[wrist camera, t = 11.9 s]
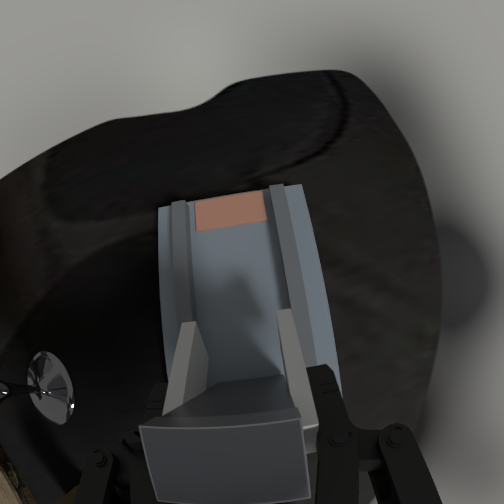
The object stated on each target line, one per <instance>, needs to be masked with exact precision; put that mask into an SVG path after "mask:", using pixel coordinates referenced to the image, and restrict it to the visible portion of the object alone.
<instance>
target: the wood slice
mask: <svg viewBox="0 0 504 504" xmlns="http://www.w3.org/2000/svg"><path fill="white" fill-rule="evenodd" d="M0 504H35V502H34V500H33V498H32V496H31V494H30V492H29V489H28V487H27V486H26V484H25V482H24V481H23V479H22V477H21V476H20V474H19V472H18V470H17V469H16V467H15V466H14V465H13V463H12V462H11V460H10V459H9V457H8V456H7V454H6V453H5V451H4V450H3V449H2V448H1V447H0Z"/></svg>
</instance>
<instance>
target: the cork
mask: <svg viewBox="0 0 504 504" xmlns="http://www.w3.org/2000/svg"><path fill="white" fill-rule="evenodd" d="M78 486H79V485H78ZM78 486H76V487H74V488H73V489H72V490H71V491H70V492H68V493H67V494H66V495H65V496H64V497H62V498H61V499H60V500H59V501H57V502H56V503H55V504H74V501H75V497H76V494H77V490H78Z"/></svg>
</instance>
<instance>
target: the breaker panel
mask: <svg viewBox="0 0 504 504" xmlns="http://www.w3.org/2000/svg"><path fill="white" fill-rule="evenodd" d="M158 256H159V285H160V303H161V317H162V329H163V340H164V350H165V359H166V368H167V376H168V383H169V378H170V374H171V369H172V364H173V360H174V355H175V351H176V346H177V342H178V337H179V333H180V329H181V325H182V323H184V322H193V321H196V323H197V326H198V328H199V331H200V334H201V337H202V340H203V343H204V345H205V348H206V351H207V354H208V356H209V361H208V372H207V383H206V390H207V389H209V388H210V387H212V386H214V385H215V384H217V383H218V382H224V381H235V380H245V379H253V378H261V377H269V376H276V375H282V374H284V377H285V373H284V367H283V361H282V355H281V349H280V341H279V333H278V325H277V317H276V311H277V310H283V309H289V308H291V311H292V315H293V319H294V323H295V327H296V331H297V335H298V339H299V343H300V347H301V351H302V355H303V359H304V363H305V367H312V366H317V365H322V364H327V365H328V366H329V367H330V368H331V369H332V370H333V371H334V374H335V377H336V380H337V383H338V386H339V390H340V392H341V395H342V390H341V382H340V375H339V367H338V360H337V354H336V347H335V341H334V335H333V329H332V323H331V317H330V311H329V306H328V301H327V295H326V290H325V285H324V280H323V275H322V270H321V265H320V260H319V256H318V251H317V247H316V242H315V238H314V233H313V229H312V225H311V220H310V216H309V212H308V208H307V204H306V200H305V196H304V192H303V188H302V184H300V185H292V186H284V184H278V185H271V186H269V189H263V190H256V191H250V192H243V193H237V194H231V195H225V196H219V197H213V198H207V199H202V200H196V201H191V202H186V201H185V200H181V201H176V202H172V205H170V206H165V207H161V208H158ZM285 380H286V379H285ZM342 399H343V398H342Z"/></svg>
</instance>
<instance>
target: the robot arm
mask: <svg viewBox="0 0 504 504" xmlns="http://www.w3.org/2000/svg"><path fill="white" fill-rule="evenodd" d="M276 317H277V325H278V333H279V341H280V349H281V355H282V361H283V367H284V373H285V379H286V383H287V386H288V389H289V392H290V395H291V397H292V400H293V402H294V405H295V407H298V410H299V412H300V415H301V417H302V425H303V433H304V441H305V449H306V454H307V453H312V452H316V450H317V455H318V463H317V481H316V493H315V504H358V495H359V473H358V471H368V474H369V477H370V480H371V483H372V486H373V489H374V492H375V496H376V499H377V502H378V504H442V502H441V499H440V496H439V494H438V491H437V489H436V486H435V484H434V481H433V479H432V477H431V474H430V472H429V469H428V467H427V465H426V462H425V460H424V458H423V456H422V454H421V451H420V449H419V447H418V444H417V442H416V440H415V438H414V436H413V434H412V432H411V430H410V429H409V428H408V427H407V426H405V425H403V424H398V423H396V424H391V425H389V426H387V427H385V428H384V429H383V430H363V429H360V428H357V427H356V426H354V425H353V424H352V423H351V422H350V420H349V418H348V415H347V411H346V408H345V405H344V402H343V399H342V395H341V392H340V390H339V386H338V383H337V380H336V377H335V374H334V371H333V370H332V369H331V368H330V367H329V366H328V365H327V364H322V365H317V366H312V367H305V363H304V359H303V355H302V351H301V347H300V343H299V339H298V335H297V331H296V327H295V323H294V319H293V315H292V311H291V308H289V309H283V310H277V311H276ZM208 361H209V356H208V354H207V351H206V348H205V345H204V343H203V340H202V337H201V334H200V331H199V328H198V326H197V323H196V321H193V322H184V323H182V325H181V329H180V333H179V337H178V342H177V346H176V351H175V355H174V360H173V364H172V369H171V374H170V378H169V383H156V384H155V385H154V386H153V388H152V389H151V390H150V393H149V397H148V402H147V405H146V410H145V414H144V418H143V423H145V422H147V421H149V420H151V419H153V418H154V417H161V416H163V415H165V414H166V413H168V412H170V411H172V410H173V409H175V408H177V407H179V406H180V405H182V404H184V403H186V402H187V401H189V400H191V399H192V398H194V397H196V396H197V395H199V394H201V393H202V392H204V391H206V383H207V372H208ZM143 423H142V424H143ZM119 444H120V445H121V446H122V447H123V448H124V449H122V450H117V451H110V450H108V449H107V448H104V447H97V448H94V449H93V450H92V451H90V453H89V454H88V456H87V460H86V463H85V466H84V469H83V473H82V476H81V479H80V483H79V486H78V490H77V494H76V497H75V501H74V504H177V503H168V502H160V501H157V498H156V495H155V491H154V488H153V485H152V481H151V477H150V474H149V470H148V466H147V462H146V458H145V454H144V449H143V445H142V440H141V435H140V430H139V429H131V430H128V431H126V432H125V433H123V435H122V436H121V438H120V441H119Z"/></svg>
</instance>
